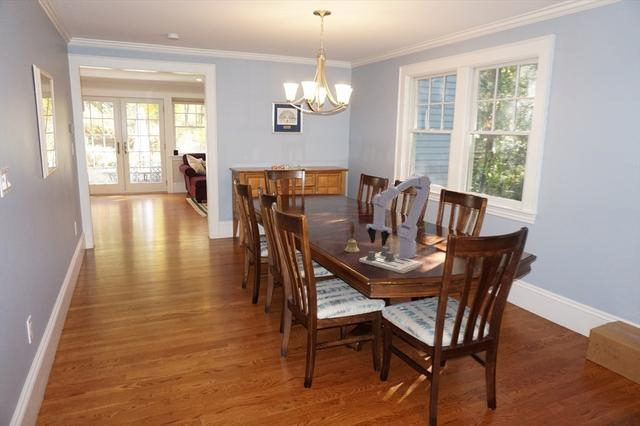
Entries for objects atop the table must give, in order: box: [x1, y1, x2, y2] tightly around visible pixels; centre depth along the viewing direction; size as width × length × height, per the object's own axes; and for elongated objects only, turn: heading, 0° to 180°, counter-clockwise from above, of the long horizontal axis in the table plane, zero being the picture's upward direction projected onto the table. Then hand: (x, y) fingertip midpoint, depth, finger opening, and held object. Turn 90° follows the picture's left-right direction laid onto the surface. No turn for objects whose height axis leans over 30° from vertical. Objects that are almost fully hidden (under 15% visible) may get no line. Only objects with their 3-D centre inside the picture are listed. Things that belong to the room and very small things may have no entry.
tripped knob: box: [384, 251, 395, 261], centre depth 223 cm, size 4×4×4 cm
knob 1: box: [366, 250, 376, 261], centre depth 223 cm, size 4×4×4 cm
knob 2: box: [380, 246, 390, 256], centre depth 232 cm, size 4×4×4 cm
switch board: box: [359, 251, 424, 275], centre depth 223 cm, size 18×26×2 cm
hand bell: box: [344, 221, 360, 253], centre depth 244 cm, size 8×8×16 cm
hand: (378, 244), depth 227 cm, fingers open, 6 cm apart
